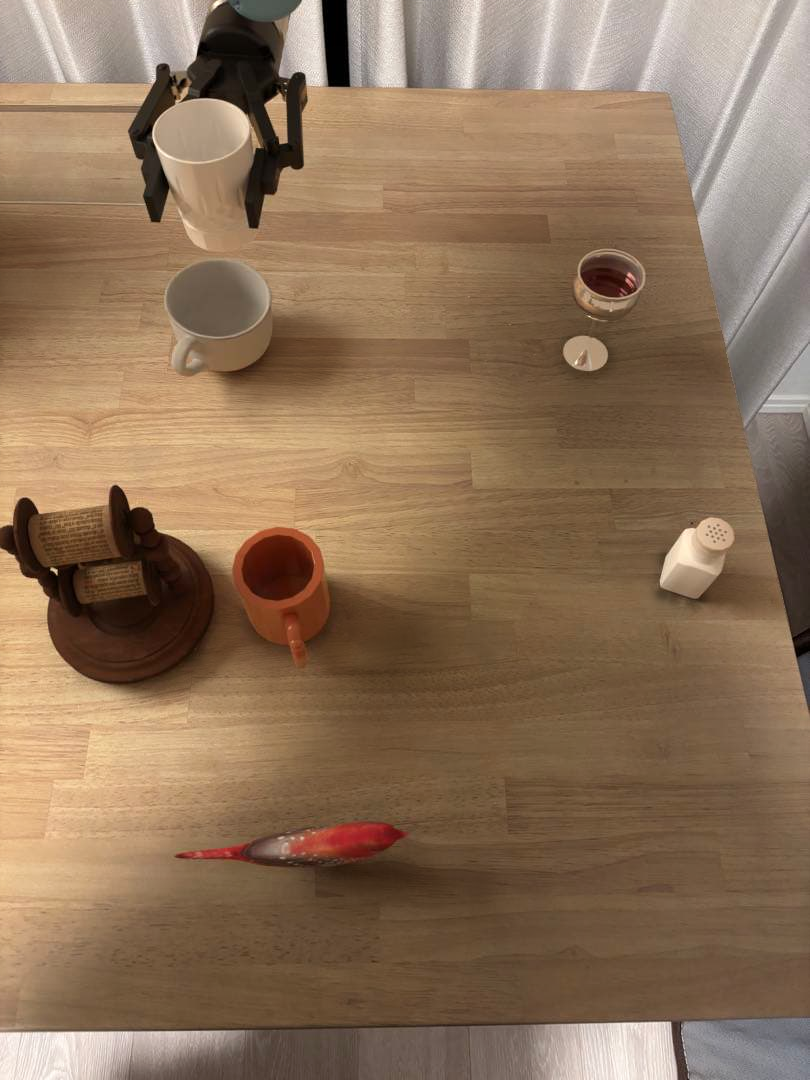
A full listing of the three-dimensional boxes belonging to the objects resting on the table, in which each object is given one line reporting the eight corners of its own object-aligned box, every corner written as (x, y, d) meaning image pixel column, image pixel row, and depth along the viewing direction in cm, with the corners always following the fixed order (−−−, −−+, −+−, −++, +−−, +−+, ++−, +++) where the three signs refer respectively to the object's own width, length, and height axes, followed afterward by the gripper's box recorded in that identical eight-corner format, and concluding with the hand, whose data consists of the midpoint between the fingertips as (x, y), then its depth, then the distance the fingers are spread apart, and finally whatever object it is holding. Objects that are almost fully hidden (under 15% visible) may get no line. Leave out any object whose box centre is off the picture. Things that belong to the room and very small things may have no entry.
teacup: (225, 294, 94) (211, 240, 87) (299, 338, 92) (292, 286, 85) (140, 373, 89) (118, 323, 82) (216, 422, 87) (200, 374, 79)
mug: (242, 580, 79) (225, 538, 70) (319, 561, 80) (312, 518, 72) (264, 686, 74) (248, 654, 66) (346, 664, 75) (341, 630, 67)
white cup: (180, 199, 77) (153, 100, 68) (265, 193, 78) (248, 95, 69) (180, 261, 74) (151, 166, 65) (268, 255, 74) (252, 159, 65)
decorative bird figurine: (408, 864, 68) (411, 851, 59) (190, 883, 67) (159, 872, 58) (405, 827, 69) (408, 809, 60) (192, 845, 68) (162, 829, 59)
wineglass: (573, 385, 89) (598, 308, 79) (544, 340, 92) (564, 260, 81) (627, 365, 91) (659, 287, 80) (596, 322, 94) (623, 240, 83)
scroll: (212, 531, 81) (161, 413, 63) (223, 675, 74) (170, 588, 56) (58, 553, 79) (-39, 438, 62) (55, 702, 73) (-53, 622, 55)
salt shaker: (697, 602, 78) (735, 560, 70) (656, 589, 79) (688, 545, 70) (705, 566, 80) (743, 521, 72) (665, 553, 81) (697, 507, 72)
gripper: (352, 84, 82) (327, 254, 71) (147, 72, 82) (92, 239, 72) (349, 6, 75) (321, 182, 65) (125, -7, 75) (62, 166, 65)
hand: (201, 212), depth 68 cm, fingers closed on white cup, 8 cm apart
